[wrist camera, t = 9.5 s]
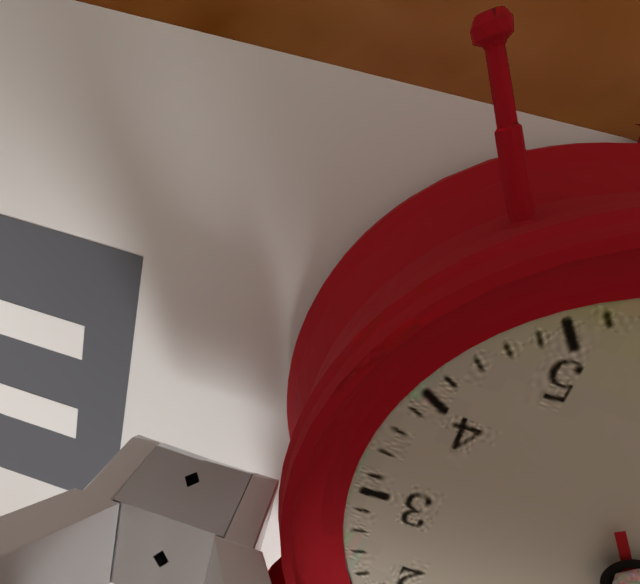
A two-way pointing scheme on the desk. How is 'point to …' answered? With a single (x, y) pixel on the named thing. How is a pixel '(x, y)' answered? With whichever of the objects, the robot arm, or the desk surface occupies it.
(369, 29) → the desk surface
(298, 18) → the desk surface
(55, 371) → the panel
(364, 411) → the alarm clock
